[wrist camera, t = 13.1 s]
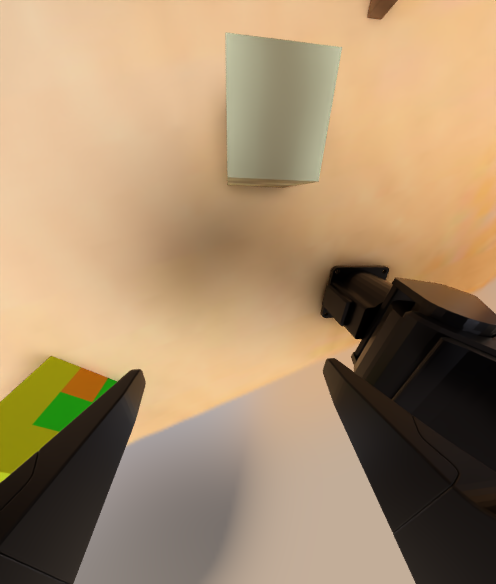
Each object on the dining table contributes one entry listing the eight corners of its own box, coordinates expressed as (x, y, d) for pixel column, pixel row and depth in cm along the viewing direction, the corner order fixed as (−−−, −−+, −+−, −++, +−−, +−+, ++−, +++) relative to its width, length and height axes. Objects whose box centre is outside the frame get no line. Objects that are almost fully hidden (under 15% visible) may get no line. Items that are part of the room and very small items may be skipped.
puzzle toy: (23, 399, 25) (-89, 511, 16) (51, 355, 22) (-66, 461, 13) (100, 422, 29) (43, 523, 20) (132, 387, 26) (83, 486, 17)
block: (292, 112, 14) (341, 47, 8) (284, 187, 16) (318, 181, 10) (226, 107, 14) (225, 32, 8) (227, 185, 16) (227, 177, 10)
